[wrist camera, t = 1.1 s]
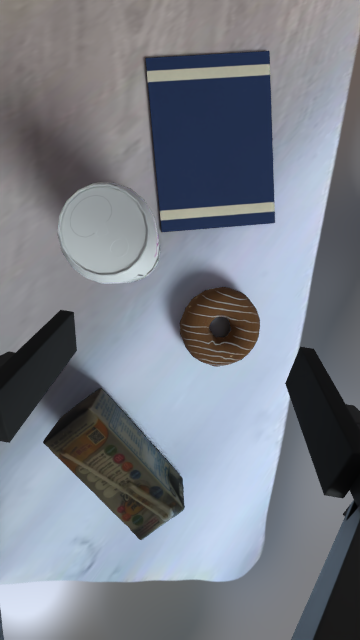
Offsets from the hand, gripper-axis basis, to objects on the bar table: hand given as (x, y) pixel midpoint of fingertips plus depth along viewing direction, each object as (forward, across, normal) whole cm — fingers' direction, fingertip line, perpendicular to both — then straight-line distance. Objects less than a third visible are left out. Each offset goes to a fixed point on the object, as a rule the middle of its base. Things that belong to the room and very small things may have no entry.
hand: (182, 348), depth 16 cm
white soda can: (+22, -9, -2) cm, 24 cm away
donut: (+20, +4, -10) cm, 23 cm away
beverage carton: (+12, -6, -28) cm, 31 cm away
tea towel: (+28, 0, +12) cm, 31 cm away
